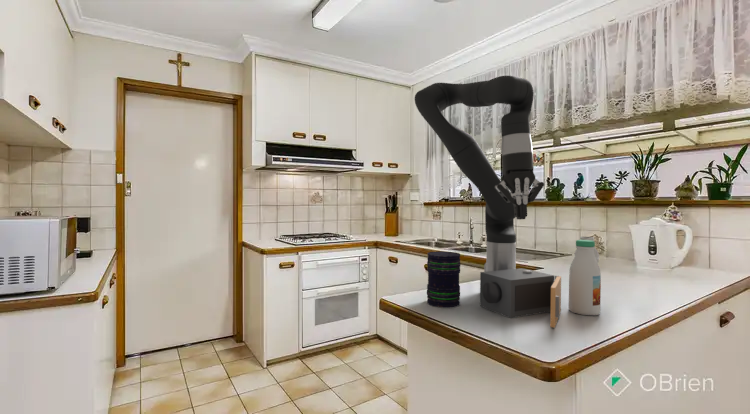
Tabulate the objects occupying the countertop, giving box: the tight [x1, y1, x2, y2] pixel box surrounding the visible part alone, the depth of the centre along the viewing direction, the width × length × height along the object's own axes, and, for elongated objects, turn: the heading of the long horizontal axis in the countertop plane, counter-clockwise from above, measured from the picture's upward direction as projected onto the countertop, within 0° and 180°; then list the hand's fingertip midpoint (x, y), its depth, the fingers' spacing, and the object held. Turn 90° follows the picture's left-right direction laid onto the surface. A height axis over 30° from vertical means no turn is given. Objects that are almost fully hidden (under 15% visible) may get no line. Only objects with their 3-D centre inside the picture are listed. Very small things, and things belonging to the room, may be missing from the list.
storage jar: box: [426, 250, 461, 309], centre depth 113 cm, size 10×10×15 cm
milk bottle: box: [568, 239, 602, 316], centre depth 105 cm, size 8×8×20 cm
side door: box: [549, 275, 562, 329], centre depth 98 cm, size 17×2×10 cm, turn 149°
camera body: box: [479, 267, 556, 319], centre depth 108 cm, size 18×12×11 cm
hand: (521, 219), depth 99 cm, fingers closed
